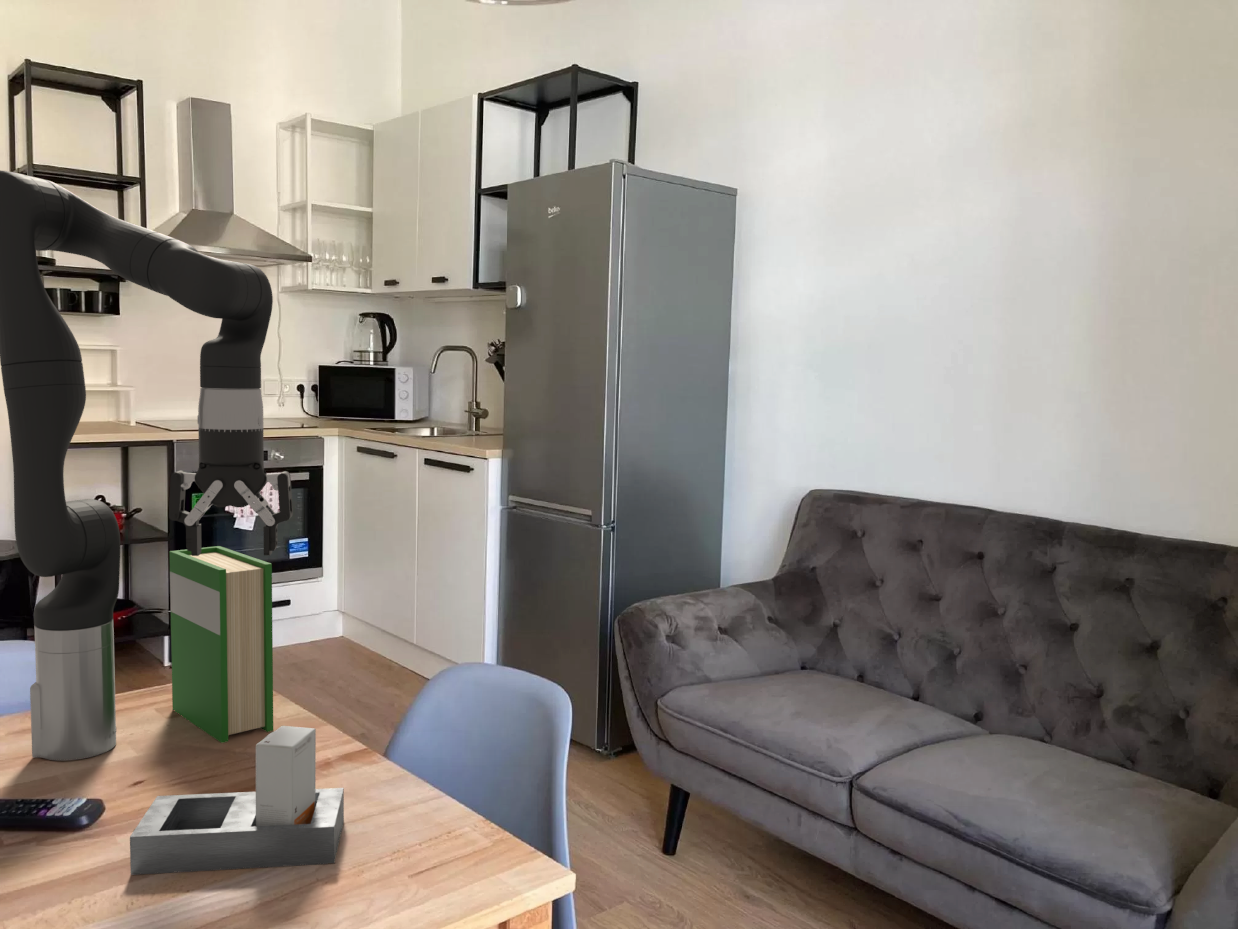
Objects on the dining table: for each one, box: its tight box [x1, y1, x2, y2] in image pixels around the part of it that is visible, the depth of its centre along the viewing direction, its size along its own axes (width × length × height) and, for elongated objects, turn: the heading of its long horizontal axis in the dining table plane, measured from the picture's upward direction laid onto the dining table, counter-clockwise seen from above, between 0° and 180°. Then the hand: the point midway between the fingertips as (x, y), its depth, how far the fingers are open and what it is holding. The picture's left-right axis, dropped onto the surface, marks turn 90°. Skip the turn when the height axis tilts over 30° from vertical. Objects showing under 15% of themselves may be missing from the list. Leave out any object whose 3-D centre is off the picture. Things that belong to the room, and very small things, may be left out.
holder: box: [129, 787, 345, 876], centre depth 111 cm, size 20×10×4 cm, turn 99°
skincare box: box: [255, 725, 317, 826], centre depth 111 cm, size 6×4×12 cm
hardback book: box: [169, 545, 274, 744], centre depth 148 cm, size 18×7×24 cm, turn 44°
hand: (232, 554), depth 128 cm, fingers open, 8 cm apart
